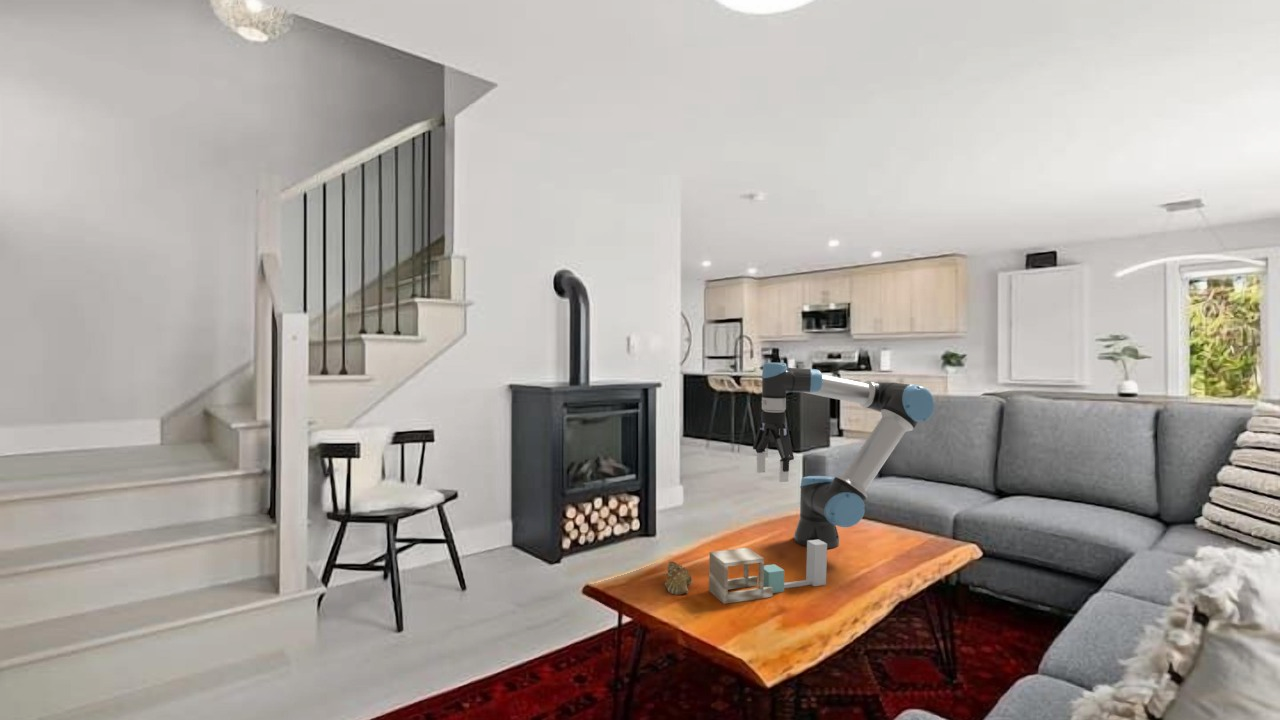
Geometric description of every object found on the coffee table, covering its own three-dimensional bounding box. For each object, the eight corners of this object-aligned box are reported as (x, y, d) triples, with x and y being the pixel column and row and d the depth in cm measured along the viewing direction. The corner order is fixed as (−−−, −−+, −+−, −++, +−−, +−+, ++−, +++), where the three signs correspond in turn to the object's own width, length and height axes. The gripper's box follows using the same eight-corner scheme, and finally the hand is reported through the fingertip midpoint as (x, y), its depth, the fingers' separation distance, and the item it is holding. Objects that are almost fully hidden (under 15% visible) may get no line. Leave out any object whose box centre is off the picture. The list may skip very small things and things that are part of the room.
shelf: (755, 584, 177) (756, 546, 177) (772, 596, 168) (773, 557, 168) (708, 590, 172) (709, 551, 171) (723, 603, 163) (724, 563, 163)
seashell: (657, 598, 174) (655, 561, 178) (682, 598, 177) (678, 562, 182) (674, 594, 167) (671, 556, 171) (699, 593, 170) (695, 556, 175)
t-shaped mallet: (816, 578, 182) (817, 538, 181) (827, 585, 177) (828, 544, 177) (759, 586, 175) (759, 545, 175) (768, 593, 170) (769, 551, 170)
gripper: (743, 406, 206) (742, 469, 207) (785, 415, 183) (783, 486, 184) (763, 406, 209) (761, 468, 210) (806, 415, 185) (804, 484, 186)
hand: (771, 476), depth 197 cm, fingers open, 13 cm apart
